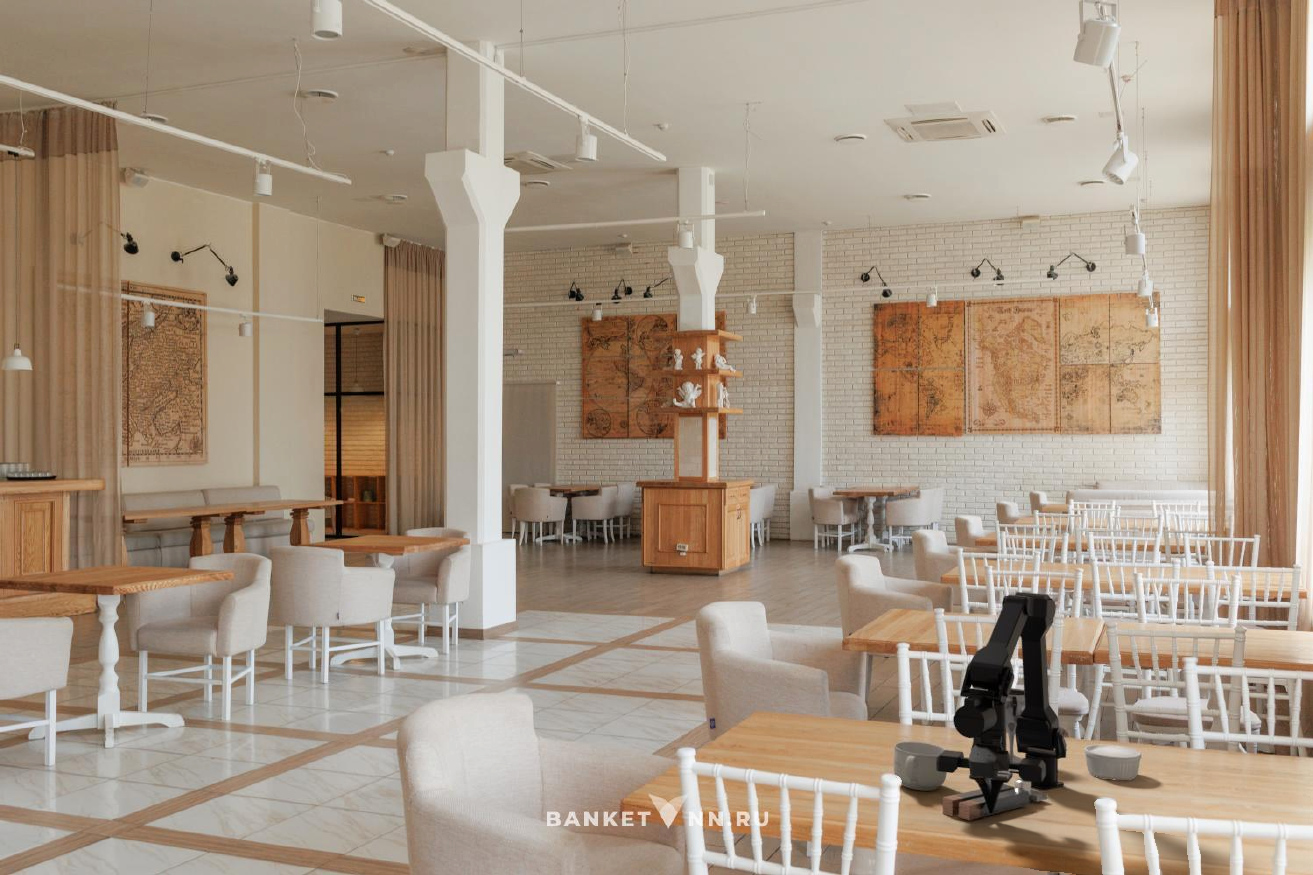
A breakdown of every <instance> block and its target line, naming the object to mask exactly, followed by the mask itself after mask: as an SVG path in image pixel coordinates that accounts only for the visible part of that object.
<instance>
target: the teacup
mask: <svg viewBox="0 0 1313 875" xmlns="http://www.w3.org/2000/svg"><path fill="white" fill-rule="evenodd" d="M893 748H894V750H893V752H894V753H893V754H894V755H893V771H894V776H895V775H897V776H899V777H900V778H901V780H902V783H901V785H903V787H906V788H908V789H911V790H915V791H916V790H917V791H921V792H922V791H924V792H925V791H926V792H927V791H930V792H931V791H934V790H937V788H938V787H940V786H942V785H943V784H944V783H945V781H946V779H947V774H948V772H940V771H937V770H936V760H937V757H938V756H939V755H940V754H941V753H942V752H943V751H944V750H948V749H947V748H946V747H943V746H940V745H936V744H932V743H927V742H923V741H900V742H897V743H895V744H894V745H893Z"/></svg>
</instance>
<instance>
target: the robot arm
mask: <svg viewBox="0 0 1313 875" xmlns="http://www.w3.org/2000/svg"><path fill="white" fill-rule="evenodd" d="M1056 606H1057V605H1056V602H1055V600H1053V598H1052V597H1051V596H1050V595H1049V594H1046V593H1035V592H1021V591H1017V592H1016V593H1015V594H1008V595H1004V597H1003V598H1002V604H1001V611H1000V613H999V615H998V618H997V620H996V623H995V624H994V627H993V630H992V632H991V634H990V637H989V639H988V641H987V643H986V644H985V646H983V647H982V648H980V649H978V650H977V651H976V652H975V653H974V655H973V657H972V659H971V660H970V662H969V663H968V664H967V666H966V670H965V673H964V679H963V682H962V685H961V690H960V694H959V695H960V697H963V698H964V700H963V702H964V703H963V705H962V706H959V708H957V709H956V710H955V712H954V716H953V718H952V719H953V725H954V728H955V730H956V731H957V732H958V733H959V734H960V735H961V736H963V737H965V738H968V739H972V740H973V741H972V746H971V748H970V753H969V756H968V757H965V755H964V752H963V751H959V750H958V751H957V750H950V749H949V750H948V749H947V750H944V751H943V752H942V753H941V754H940V755H939V756H938V757H937V760H936V770H937V771H940V772H947V773H950V774H952V773H954V772H956V771H957V770H958V768H962V769H969V775H968V778H969V779H970V780H973V781H975V783H976V784H977V785H978V787H979V789H981V791H982V793H983V796H984V799H985V802H986V804H987V807H988V810H989V813H991V814H992V813H993V811H994V808H995V805H996V802H997V799H998V796H999V793H1000V790H1001V788H1002V786H1003V784H1008V783H1009V782H1010V781H1011V779H1012V777H1013V775H1014V774H1016V775H1018V777H1019V779H1022V780H1023V781H1030V782H1031V787H1034V788H1037V789H1041V790H1049V789H1054V788H1058V787H1063V786H1065V782H1063V781H1060V780H1059V779H1058V778H1059V775H1058V774H1059V770H1058V769H1059V768H1058V767H1059V765H1058V764H1059V759H1066V758H1067V751H1068V750H1067V747H1068V746H1067V741H1066V738H1065V737H1064V733H1063V732H1062V729H1061V728H1060V722H1059V717H1058V715H1057V714H1056V712H1055V711H1054V710H1053V709H1054V708H1052V707H1051V705H1050V696H1049V677H1048V676H1049V675H1048V674H1049V673H1048V655H1047V634H1048V633H1049V631H1050V629H1051V628H1052V626H1053V624H1054V620H1055V619H1054V618H1055V615H1056V612H1057V610H1056ZM1019 639H1021V654H1022V655H1021V656H1022V675H1023V690H1024V698H1025V708H1024V710H1023V711H1022V713H1021V715H1020V716H1019V717H1018V719H1017V721H1016V722H1017V725H1016V730H1015V741H1016V749H1017V754H1018V753H1019V754H1022V753H1023V754H1024V755H1025V757H1022V758H1023V759H1022V760H1021V762H1020V763H1014V762H1010V755H1009V750H1008V749H1007V730H1006V701H1005V699H1007V697H1009V693H1010V690H1011V688H1013V684H1014V681H1015V674H1014V668H1013V665H1012V657H1013V655H1014V651H1015V649H1016V647H1017V644H1018V641H1019ZM972 687H973V688H972ZM992 815H993V814H992Z"/></svg>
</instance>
